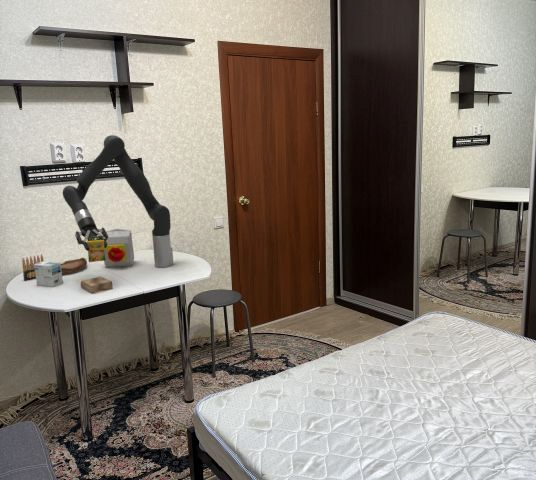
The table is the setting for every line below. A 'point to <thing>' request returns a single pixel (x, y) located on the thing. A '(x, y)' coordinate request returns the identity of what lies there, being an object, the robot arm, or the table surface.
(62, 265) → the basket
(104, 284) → the tray
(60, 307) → the table surface
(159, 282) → the table surface
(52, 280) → the light bulb box
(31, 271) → the ammunition clip
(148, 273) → the table surface
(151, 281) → the table surface
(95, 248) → the crayon box
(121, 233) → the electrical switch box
